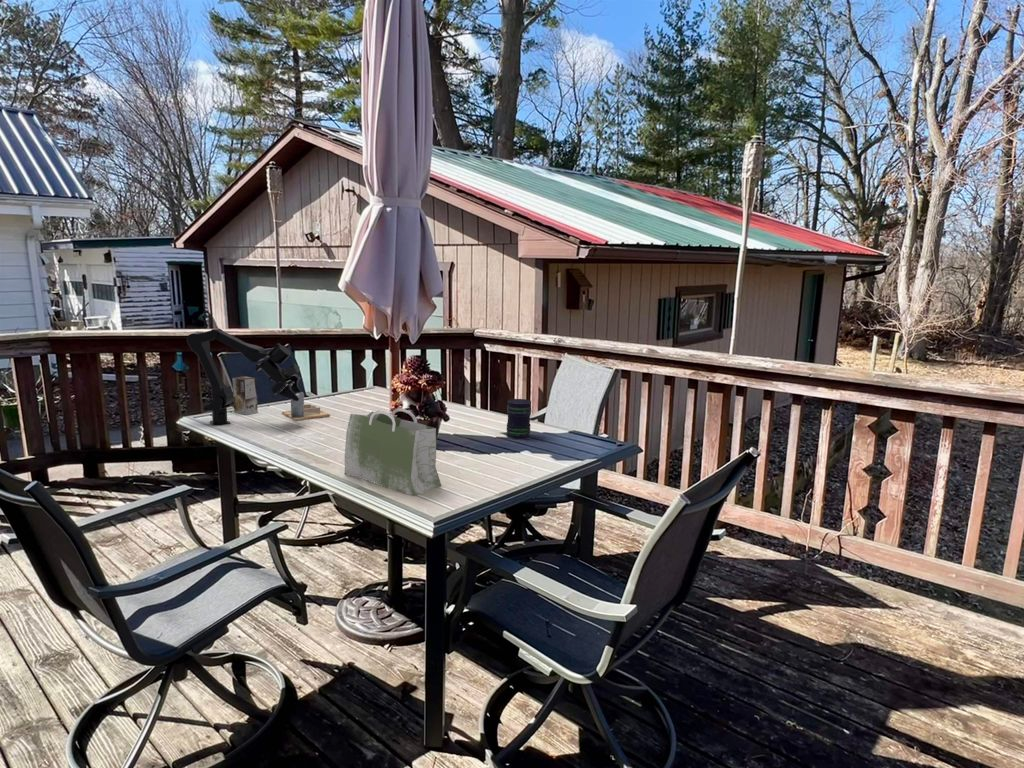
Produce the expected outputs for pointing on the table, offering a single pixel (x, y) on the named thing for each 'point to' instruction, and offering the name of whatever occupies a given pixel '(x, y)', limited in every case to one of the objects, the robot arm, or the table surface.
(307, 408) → the socket block
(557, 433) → the table surface
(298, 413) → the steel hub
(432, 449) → the grocery bag
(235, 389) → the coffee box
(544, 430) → the table surface
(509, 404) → the storage jar
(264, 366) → the robot arm
